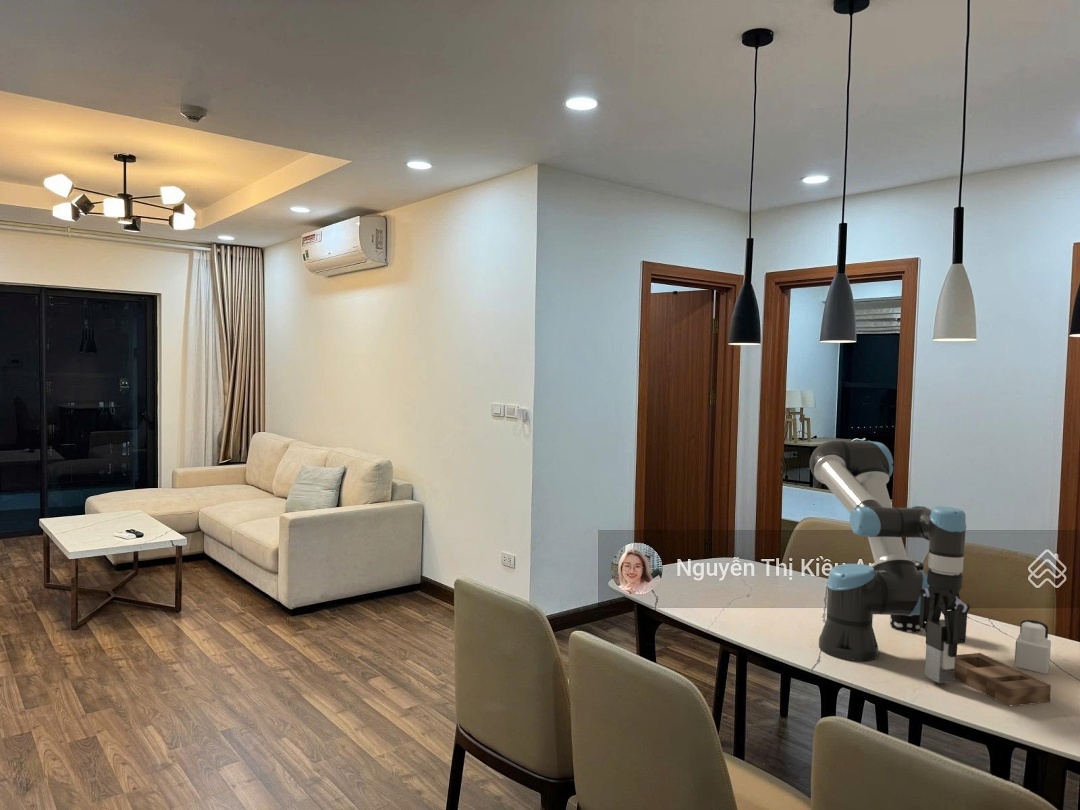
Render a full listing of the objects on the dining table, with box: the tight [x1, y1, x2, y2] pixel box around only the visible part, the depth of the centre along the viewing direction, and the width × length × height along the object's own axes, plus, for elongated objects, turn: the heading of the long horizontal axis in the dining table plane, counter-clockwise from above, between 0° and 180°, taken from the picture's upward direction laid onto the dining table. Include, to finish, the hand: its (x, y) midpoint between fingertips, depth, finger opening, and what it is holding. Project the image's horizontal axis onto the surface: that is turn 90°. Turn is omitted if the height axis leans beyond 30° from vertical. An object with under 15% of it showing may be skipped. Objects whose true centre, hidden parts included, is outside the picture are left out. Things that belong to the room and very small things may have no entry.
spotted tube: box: [889, 559, 925, 633], centre depth 218 cm, size 8×8×20 cm
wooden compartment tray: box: [954, 652, 1052, 707], centre depth 178 cm, size 12×20×4 cm, turn 14°
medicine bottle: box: [1014, 619, 1052, 675], centre depth 191 cm, size 7×7×12 cm
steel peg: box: [924, 618, 955, 684], centre depth 178 cm, size 4×4×14 cm
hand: (940, 663), depth 178 cm, fingers closed on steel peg, 4 cm apart
